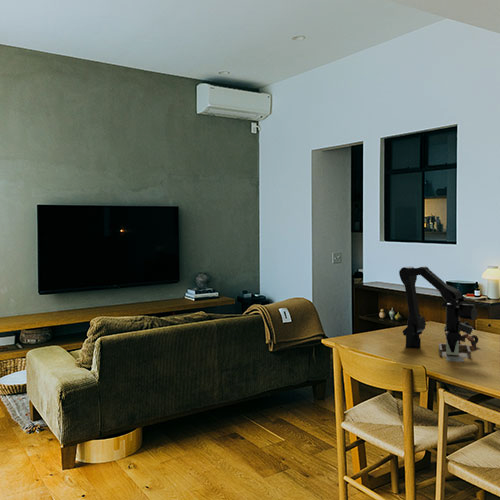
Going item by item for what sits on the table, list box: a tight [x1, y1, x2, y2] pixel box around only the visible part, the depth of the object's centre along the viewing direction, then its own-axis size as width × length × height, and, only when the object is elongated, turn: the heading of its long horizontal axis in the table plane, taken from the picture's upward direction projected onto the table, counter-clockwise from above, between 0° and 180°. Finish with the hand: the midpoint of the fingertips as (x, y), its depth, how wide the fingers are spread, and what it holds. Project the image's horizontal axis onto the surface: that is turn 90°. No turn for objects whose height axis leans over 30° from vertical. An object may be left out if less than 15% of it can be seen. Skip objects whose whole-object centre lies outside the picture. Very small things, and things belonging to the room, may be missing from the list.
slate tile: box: [445, 356, 465, 363], centre depth 228 cm, size 7×7×1 cm
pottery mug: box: [458, 333, 479, 351], centre depth 250 cm, size 12×10×8 cm
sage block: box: [445, 338, 459, 355], centre depth 236 cm, size 5×5×6 cm
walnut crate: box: [438, 342, 472, 359], centre depth 238 cm, size 13×13×3 cm
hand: (452, 350), depth 236 cm, fingers closed on sage block, 5 cm apart
